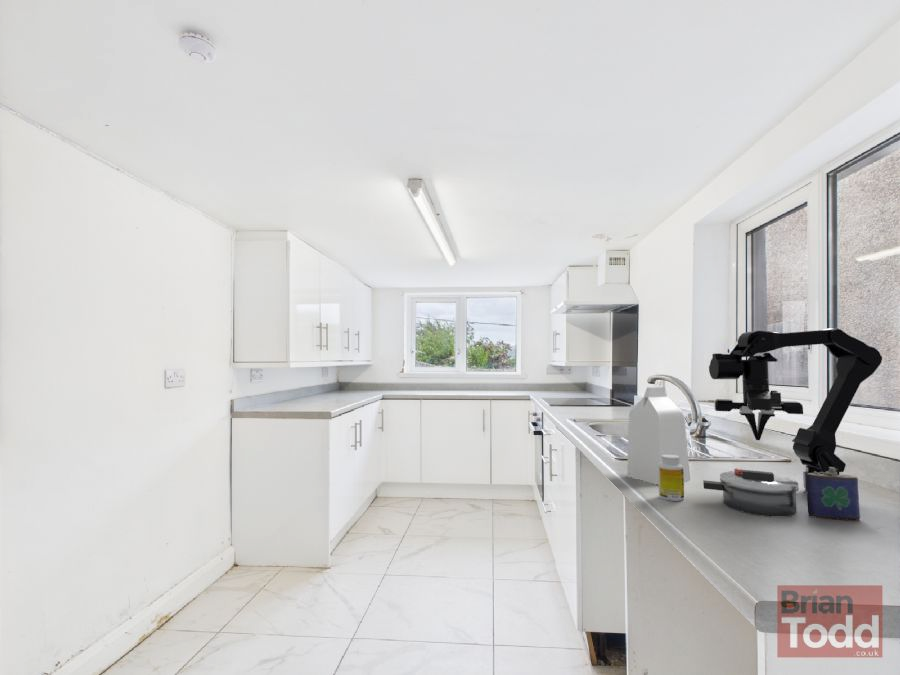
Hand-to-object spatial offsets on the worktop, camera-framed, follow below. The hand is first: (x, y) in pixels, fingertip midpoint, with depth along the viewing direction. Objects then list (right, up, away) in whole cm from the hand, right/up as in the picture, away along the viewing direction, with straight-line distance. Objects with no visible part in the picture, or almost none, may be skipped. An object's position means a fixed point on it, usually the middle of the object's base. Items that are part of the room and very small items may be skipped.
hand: (757, 440), depth 120 cm
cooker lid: (-9, -7, -13) cm, 17 cm away
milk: (-20, -14, +13) cm, 28 cm away
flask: (+2, -12, -21) cm, 24 cm away
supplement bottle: (-26, -13, -7) cm, 29 cm away
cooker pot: (-10, -12, -12) cm, 20 cm away
